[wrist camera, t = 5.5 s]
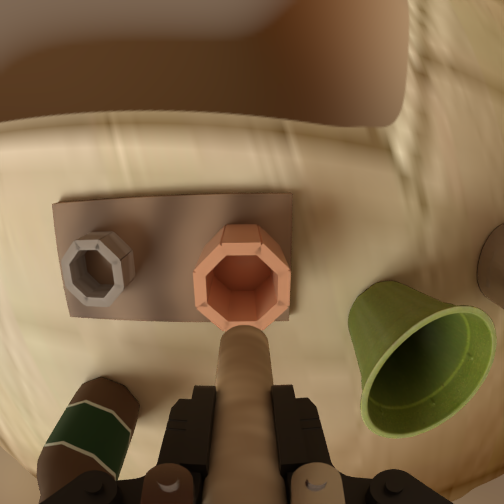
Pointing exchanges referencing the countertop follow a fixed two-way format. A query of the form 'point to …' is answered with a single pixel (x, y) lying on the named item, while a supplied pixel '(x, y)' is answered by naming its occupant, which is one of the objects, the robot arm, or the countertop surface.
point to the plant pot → (417, 357)
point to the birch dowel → (244, 424)
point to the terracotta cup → (242, 278)
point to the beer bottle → (88, 435)
